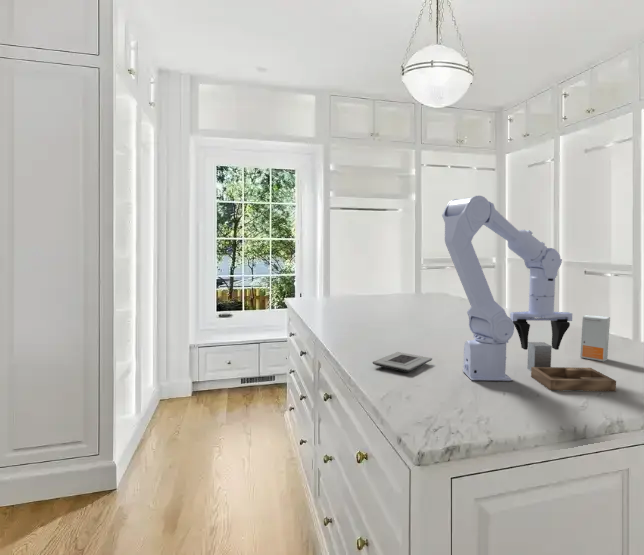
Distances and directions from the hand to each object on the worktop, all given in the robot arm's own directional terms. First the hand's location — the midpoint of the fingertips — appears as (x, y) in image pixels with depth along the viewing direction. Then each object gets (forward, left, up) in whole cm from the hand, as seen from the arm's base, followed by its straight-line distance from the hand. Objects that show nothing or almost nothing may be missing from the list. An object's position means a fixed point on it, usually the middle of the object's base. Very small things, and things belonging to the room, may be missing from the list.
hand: (539, 348), depth 111 cm
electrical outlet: (-34, +3, -6) cm, 35 cm away
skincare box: (+21, +12, -6) cm, 25 cm away
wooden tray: (+3, -10, -6) cm, 12 cm away
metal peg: (0, 0, -6) cm, 6 cm away
